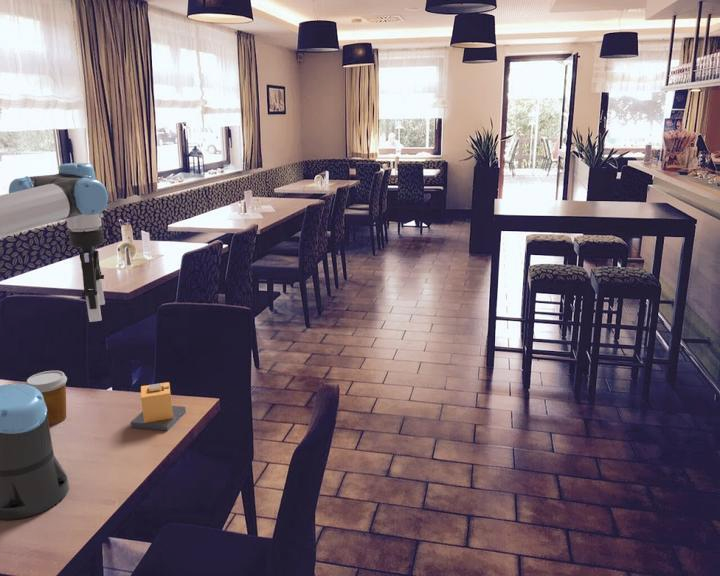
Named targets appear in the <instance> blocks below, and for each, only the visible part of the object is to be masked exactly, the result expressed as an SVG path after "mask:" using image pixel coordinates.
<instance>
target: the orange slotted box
mask: <svg viewBox="0 0 720 576" xmlns="http://www.w3.org/2000/svg"><path fill="white" fill-rule="evenodd" d="M156 384H157V383H154V384H152V385H156ZM158 384H161V387H162V391H159V392H153V393H149V385H150V384H148V385H141V386H140V399H141V400H140V401H141V410H142V411H143V418H144V423H147V422H153V421H159V420H165V419H171V418H173V412H172V406H173V404H172V397H171V395H172V394H171V386H170V385H171V384H170V382H160V383H158Z"/></svg>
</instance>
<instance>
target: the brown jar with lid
mask: <svg viewBox="0 0 720 576" xmlns="http://www.w3.org/2000/svg"><path fill="white" fill-rule="evenodd" d="M67 381H68V377H67V376H66V374H65V373H64V372H63V371H61V370H48V371H46V370H45V371H43V372H38V373H36V374H35V373H34V374H33V375H31V376H29V377H28V378H27V379H26V383H25V385H29V386H32V387H35V388H36V389H38V390H39V391H40V392H41V394H42V395H43V398H44V402H45V404H46V407H47V417H48V423H49V426H53V425H57V424H60V423H62V422H64V421H65V420H66V419H67V385H66V383H67Z"/></svg>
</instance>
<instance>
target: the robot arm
mask: <svg viewBox="0 0 720 576" xmlns="http://www.w3.org/2000/svg"><path fill="white" fill-rule="evenodd" d="M8 186H9V187H8V193H4V194H1V195H0V239H2V238H5V237H9V236H11V235H16V234H19V233H22V232H25V231H29V230H31V229H37V228H39V227H43V226H45V225H49V224H52V223H56V222H59V221H61V220H66V226H67V229H69V231H68V237H69V243H70V246H71V247H73V248H81V251H80V253H79V260H80V265H81V271H82V283H83V292H81V297H85V302H86V308H87V315H88V320H89V321H88V322H90V323H94V322H101V321H102V313H101V306H103V305H105V304H106V300H105V295H104V288H103V280H104V279H105V275H104V274H102V270H101V266H100V258H99V257H100V255H99V254H100V253H99V250H97V246H101V245H102V244H104V242H105V238H104V230H103V228H101V226H103V224H102V218H104V214H103V213H102V212H104V210H105V209H106V208H107V206H108V203H109V194H108V190H107V187H106V186H105V185H104V184H103V183H102V182H101V181H99V180H97V178H96V172H95V168H94V166H93V165H92V164H91V163H88V162H71V163H69V162H68V163H63V164H60V165H59V166H58V173H56V174H49V175H48V174H47V175H46V174H45V175H35V176H24V177H18V178H14V179H13V180H12V181H11V182H10V184H9V185H8ZM50 430H51V429H50V425H49V423H48V417H47V407H46V404H45V402H44V398H43V395H42V394H41V392H40V391H39V390H38V389H36V388H35V387H32V386H29V385H26V383H25V384H22V383H17V384H16V385H15V384H14V383H10V384H3V385H0V520H2V521H3V520H4V521H12V520H13V521H14V520H21V519H25V518H30V517H33V516H35V515H38V514H41V513H43V512H45V511H47V510H49V509H51V508H53V507H54V506H56V505H57V504H59V503H60V502H61V501H62V500H63V499H64V498H65V497H64V496H67V493H68V492H69V490H70V484H69V478H68V477H69V476H68V474H67V473H66V472H65V470H64V468H63V466H62V465H61V463H60V462H59V461H58V459H57V458H56V456H55V452H54V447H53V446H54V445H53V441H52V435H51V431H50ZM63 497H64V498H63ZM62 498H63V499H62ZM61 499H62V500H61ZM60 500H61V501H60ZM59 501H60V502H59ZM55 504H56V505H55ZM52 506H53V507H52Z"/></svg>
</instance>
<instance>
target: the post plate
mask: <svg viewBox="0 0 720 576" xmlns="http://www.w3.org/2000/svg"><path fill="white" fill-rule="evenodd" d="M155 384H156V385H153V384H148V385H149V393H153V392H159V391H162V387H161V384H159V383H155ZM172 412H173V418H171V419H165V420H159V421H153V422H147V423H144V418H143V410H142V411H141V412H140V413H139V414H138V415H136V417H135V418H133V419H132V420H131V421H130V428H131V429H144V430H155V431H167V432H168V431H169V430H170V429H171V428H172V427H173V426H174V425H175V424H176V423H177V422H178V421H179V420H180V419H181V417H183V416H184V414H186V412H187V410H186V406H180V405H179V406H178V405H172Z"/></svg>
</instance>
